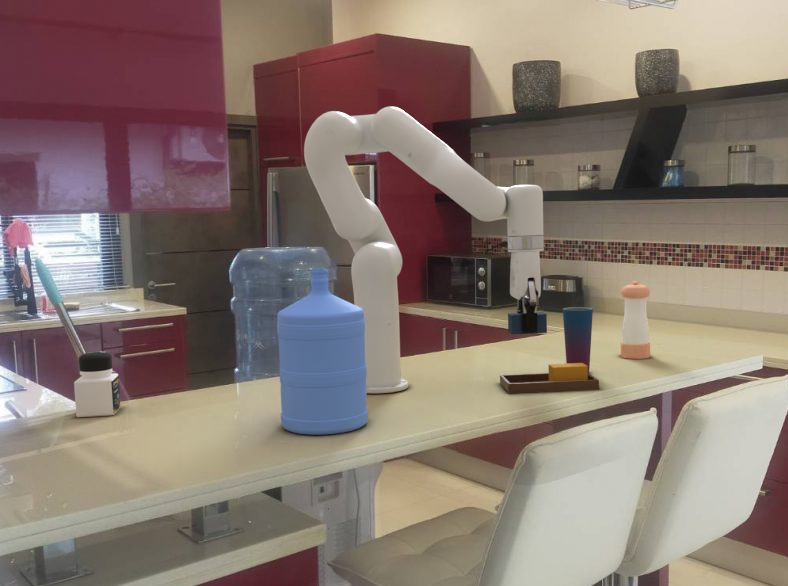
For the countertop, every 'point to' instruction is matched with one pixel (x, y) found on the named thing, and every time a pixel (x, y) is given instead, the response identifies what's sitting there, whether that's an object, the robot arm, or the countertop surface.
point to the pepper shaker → (635, 322)
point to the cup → (578, 334)
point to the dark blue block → (516, 323)
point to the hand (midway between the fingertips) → (527, 330)
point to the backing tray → (544, 383)
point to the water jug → (322, 363)
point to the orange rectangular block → (568, 372)
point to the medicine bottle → (96, 386)
